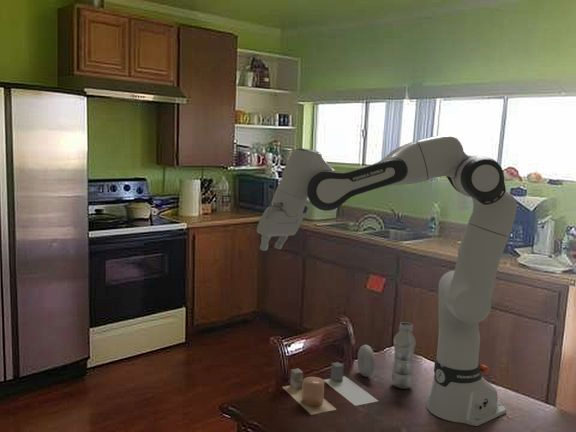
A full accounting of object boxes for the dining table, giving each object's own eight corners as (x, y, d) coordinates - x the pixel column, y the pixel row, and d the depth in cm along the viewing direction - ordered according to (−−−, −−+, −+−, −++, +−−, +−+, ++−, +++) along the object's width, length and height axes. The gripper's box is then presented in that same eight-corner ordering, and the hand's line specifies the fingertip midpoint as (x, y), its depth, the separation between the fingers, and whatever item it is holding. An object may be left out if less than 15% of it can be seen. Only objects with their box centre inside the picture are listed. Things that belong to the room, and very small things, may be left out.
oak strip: (305, 386, 166) (306, 367, 165) (336, 412, 150) (337, 392, 149) (281, 390, 162) (282, 370, 161) (310, 418, 146) (312, 396, 145)
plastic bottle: (412, 392, 165) (417, 328, 163) (390, 389, 166) (394, 326, 164) (412, 383, 171) (417, 322, 169) (390, 381, 173) (394, 319, 170)
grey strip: (344, 379, 172) (345, 360, 171) (378, 404, 156) (379, 384, 155) (322, 383, 168) (323, 364, 168) (354, 409, 152) (356, 388, 152)
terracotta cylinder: (316, 395, 158) (317, 375, 157) (327, 404, 152) (328, 383, 151) (298, 398, 155) (299, 378, 154) (308, 408, 150) (309, 387, 149)
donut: (375, 382, 171) (377, 351, 170) (364, 382, 171) (366, 351, 169) (365, 369, 181) (367, 340, 180) (355, 369, 180) (357, 340, 179)
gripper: (282, 206, 141) (263, 255, 143) (310, 208, 160) (293, 251, 162) (261, 197, 143) (243, 246, 145) (292, 200, 162) (275, 243, 164)
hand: (270, 249), depth 154 cm, fingers open, 8 cm apart
